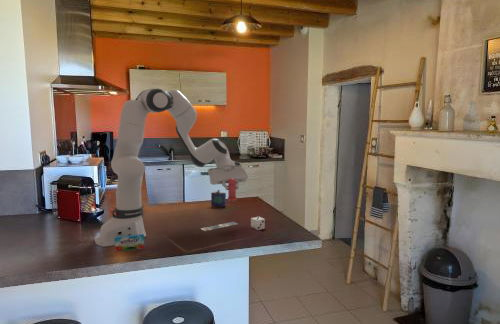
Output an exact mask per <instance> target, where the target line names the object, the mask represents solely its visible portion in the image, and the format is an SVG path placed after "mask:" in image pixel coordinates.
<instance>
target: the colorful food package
mask: <svg viewBox="0 0 500 324" xmlns="http://www.w3.org/2000/svg"><path fill="white" fill-rule="evenodd" d="M114 242H115V245H114V252H115V253H117V252H127V251H136V250H144V249H145V246H146V243H145V237H144V234H139V235H128V236H118V237H115V238H114Z"/></svg>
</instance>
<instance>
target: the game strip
mask: <svg viewBox="0 0 500 324" xmlns="http://www.w3.org/2000/svg"><path fill="white" fill-rule="evenodd" d="M236 225H238V222H235V221H231V222H226V223H221V224H216V225H212V226H205V227H202V228H200V230H202V231H204V232H207V231H212V230H216V229H221V228H222V229H223V228H227V227H230V226H236Z"/></svg>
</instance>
